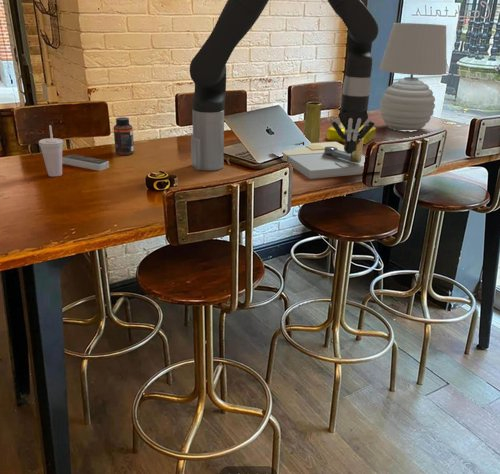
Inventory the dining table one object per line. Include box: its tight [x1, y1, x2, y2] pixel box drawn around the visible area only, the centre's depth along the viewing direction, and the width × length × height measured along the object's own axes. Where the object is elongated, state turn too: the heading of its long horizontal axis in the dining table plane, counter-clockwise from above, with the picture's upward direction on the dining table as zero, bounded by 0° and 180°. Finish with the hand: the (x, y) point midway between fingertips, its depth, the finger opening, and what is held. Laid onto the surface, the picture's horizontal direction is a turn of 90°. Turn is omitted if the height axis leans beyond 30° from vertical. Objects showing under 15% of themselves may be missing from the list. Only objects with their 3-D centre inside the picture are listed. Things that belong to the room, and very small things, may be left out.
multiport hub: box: [62, 153, 110, 172], centre depth 156 cm, size 4×14×2 cm, turn 65°
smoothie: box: [38, 124, 64, 177], centre depth 144 cm, size 6×6×14 cm
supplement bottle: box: [113, 116, 135, 156], centre depth 167 cm, size 6×6×11 cm
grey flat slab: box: [282, 141, 365, 180], centre depth 166 cm, size 24×28×3 cm
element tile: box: [326, 122, 377, 145], centre depth 196 cm, size 15×15×5 cm
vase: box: [303, 101, 323, 143], centre depth 186 cm, size 6×6×14 cm
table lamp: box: [379, 22, 447, 131], centre depth 205 cm, size 25×25×40 cm
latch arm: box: [324, 138, 364, 163], centre depth 159 cm, size 14×4×7 cm, turn 40°
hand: (349, 152), depth 153 cm, fingers closed
